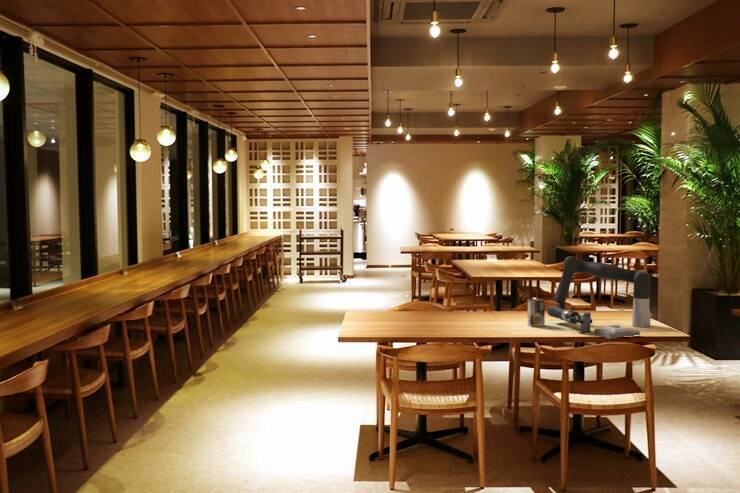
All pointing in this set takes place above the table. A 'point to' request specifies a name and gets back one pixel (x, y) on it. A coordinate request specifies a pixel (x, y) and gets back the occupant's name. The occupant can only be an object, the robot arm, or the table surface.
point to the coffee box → (536, 312)
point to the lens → (585, 322)
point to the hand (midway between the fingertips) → (587, 321)
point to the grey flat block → (615, 331)
